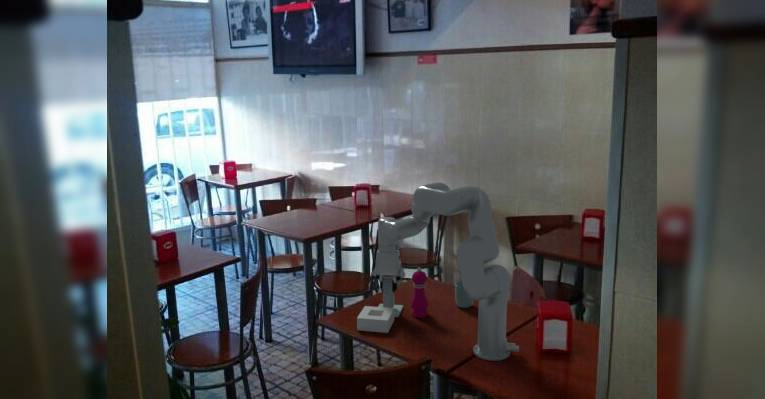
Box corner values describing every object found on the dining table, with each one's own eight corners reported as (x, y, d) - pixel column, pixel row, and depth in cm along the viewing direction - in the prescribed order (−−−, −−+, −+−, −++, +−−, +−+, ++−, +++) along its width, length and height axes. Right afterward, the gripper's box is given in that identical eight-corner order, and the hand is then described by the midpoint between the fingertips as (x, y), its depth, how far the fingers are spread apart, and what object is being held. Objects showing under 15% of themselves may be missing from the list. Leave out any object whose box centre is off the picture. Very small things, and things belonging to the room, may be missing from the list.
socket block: (394, 319, 230) (394, 308, 229) (387, 332, 219) (387, 320, 218) (365, 317, 233) (364, 306, 232) (357, 330, 221) (356, 318, 220)
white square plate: (403, 307, 242) (403, 305, 242) (398, 317, 233) (398, 314, 233) (379, 305, 245) (379, 303, 244) (374, 315, 235) (374, 312, 235)
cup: (451, 304, 244) (451, 282, 242) (467, 301, 248) (467, 279, 245) (461, 311, 237) (461, 288, 235) (477, 307, 241) (477, 285, 239)
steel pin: (394, 304, 240) (394, 277, 237) (392, 308, 236) (392, 280, 233) (385, 303, 241) (384, 276, 238) (383, 307, 237) (382, 279, 234)
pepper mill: (428, 311, 238) (428, 264, 234) (428, 318, 231) (428, 270, 227) (411, 310, 239) (410, 264, 235) (410, 318, 232) (409, 270, 228)
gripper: (410, 246, 235) (410, 288, 238) (369, 244, 239) (371, 286, 242) (406, 251, 228) (407, 295, 231) (365, 249, 231) (366, 292, 235)
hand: (388, 290), depth 237 cm, fingers closed on steel pin, 4 cm apart
